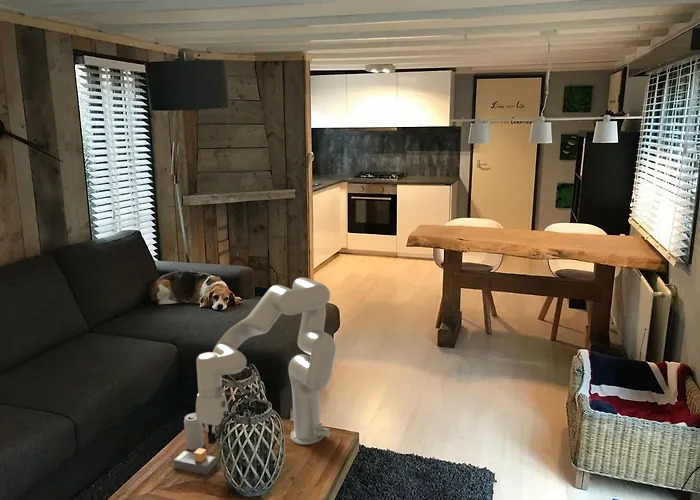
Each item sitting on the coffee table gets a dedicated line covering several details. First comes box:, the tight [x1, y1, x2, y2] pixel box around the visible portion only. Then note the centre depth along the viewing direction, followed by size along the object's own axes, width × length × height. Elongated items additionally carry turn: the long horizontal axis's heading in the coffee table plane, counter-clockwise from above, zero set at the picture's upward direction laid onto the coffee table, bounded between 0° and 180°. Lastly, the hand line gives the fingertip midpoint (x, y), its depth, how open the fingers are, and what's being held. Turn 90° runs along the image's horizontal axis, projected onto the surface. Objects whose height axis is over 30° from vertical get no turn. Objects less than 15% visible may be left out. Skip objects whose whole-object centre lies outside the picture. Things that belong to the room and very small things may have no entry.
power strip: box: [173, 450, 218, 476], centre depth 194 cm, size 13×6×3 cm, turn 69°
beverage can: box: [183, 412, 205, 451], centre depth 206 cm, size 6×6×12 cm
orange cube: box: [193, 447, 208, 462], centre depth 193 cm, size 3×3×3 cm
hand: (213, 441), depth 189 cm, fingers closed
